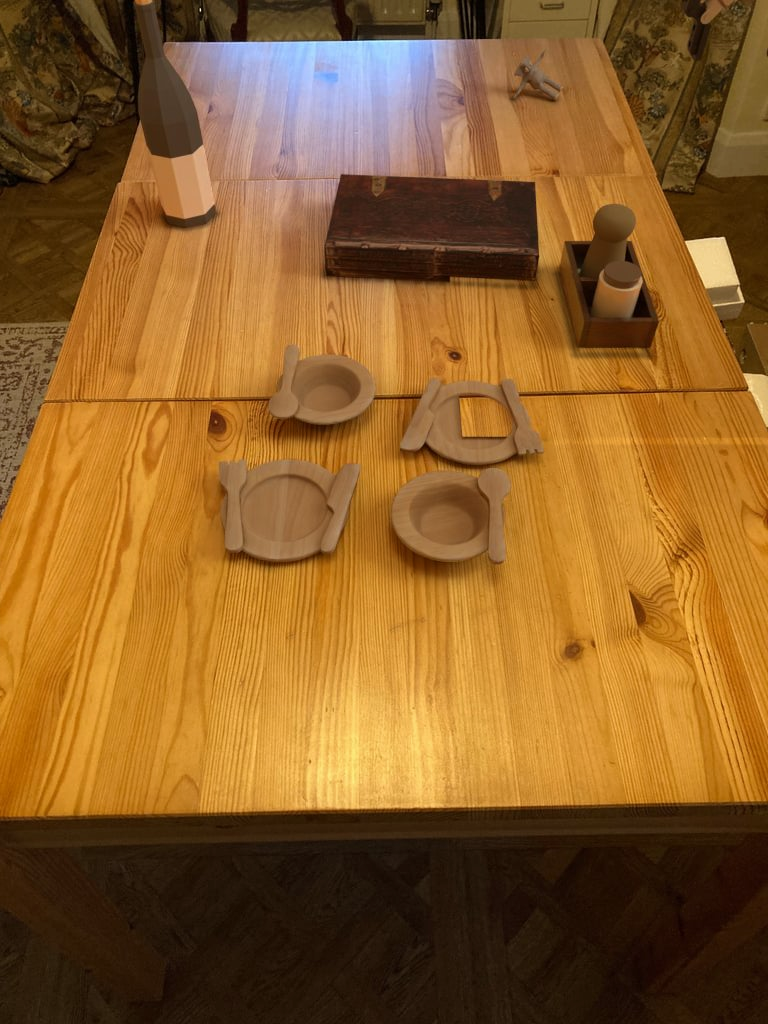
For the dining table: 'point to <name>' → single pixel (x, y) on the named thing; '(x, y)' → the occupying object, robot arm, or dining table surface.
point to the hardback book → (432, 229)
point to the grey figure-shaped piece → (535, 77)
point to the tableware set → (325, 497)
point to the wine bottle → (171, 131)
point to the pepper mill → (608, 238)
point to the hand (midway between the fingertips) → (733, 58)
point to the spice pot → (617, 291)
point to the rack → (581, 298)
